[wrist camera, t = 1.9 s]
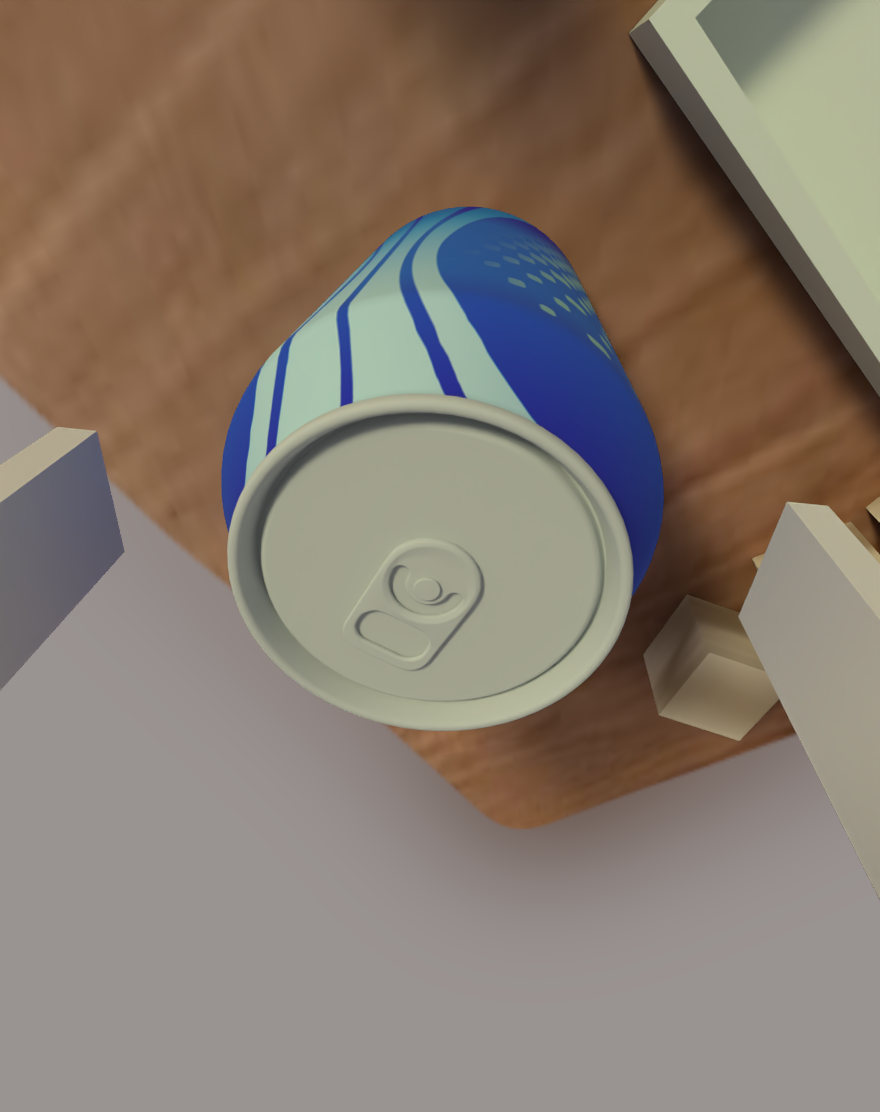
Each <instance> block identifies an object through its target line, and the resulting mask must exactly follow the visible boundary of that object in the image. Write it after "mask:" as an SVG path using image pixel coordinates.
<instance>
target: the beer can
mask: <svg viewBox="0 0 880 1112" xmlns="http://www.w3.org/2000/svg"><path fill="white" fill-rule="evenodd" d="M222 501H223V509H224V516H225V520H226V524H227V528H228V532H229V537H228V570H229V578H230V583H231V587H232V591H233V595H234V598H235V600H236V603H237V606H238V609H239V611H240V613H241V615H242V617H243V619H244V621H245V624H246V625H247V627H248V628H249V630H250V632H251V634H252V635H253V637H254V638H255V640H256V641H257V642H258V644H259V645H260V646H261V648H262V649H263V650H264V651H265V653H266V654H267V655H268V656H269V657H270V658H271V659H272V661H273V662H274V663H275V664H276V665H277V666H278V667H279V668H281V669H282V670H283V671H284V672H285V673H286V674H287V675H288V676H289V677H291V678H292V679H293V680H294V681H296V682H297V683H298V684H299V685H301V686H302V687H304V688H305V689H307V690H308V691H310V692H311V693H313V694H314V695H316V696H317V697H319V698H321V699H323V700H325V701H326V702H328V703H330V704H332V705H334V706H336V707H338V708H340V709H342V710H345V711H347V712H350V713H352V714H355V715H357V716H360V717H363V718H366V719H369V720H372V721H376V722H379V723H383V724H387V725H392V726H397V727H403V728H409V729H417V730H430V731H459V730H470V729H478V728H484V727H490V726H495V725H499V724H503V723H507V722H510V721H513V720H517V719H520V718H523V717H525V716H528V715H530V714H533V713H535V712H537V711H539V710H541V709H543V708H545V707H547V706H549V705H551V704H553V703H555V702H556V701H558V700H560V699H561V698H563V697H565V696H566V695H567V694H569V693H570V692H571V691H573V690H574V689H575V688H577V687H578V686H579V685H580V684H581V683H583V682H584V681H585V680H586V679H587V678H588V677H589V676H590V675H591V674H592V673H593V672H594V671H595V670H596V669H597V668H598V667H599V666H600V664H601V663H602V662H603V660H604V659H605V658H606V656H607V655H608V654H609V652H610V651H611V649H612V647H613V646H614V644H615V642H616V641H617V639H618V637H619V634H620V632H621V630H622V628H623V626H624V623H625V620H626V617H627V614H628V611H629V607H630V602H631V598H632V596H633V595H634V593H635V592H636V590H637V588H638V586H639V585H640V583H641V581H642V580H643V578H644V576H645V573H646V571H647V569H648V567H649V564H650V562H651V560H652V556H653V553H654V550H655V547H656V544H657V541H658V538H659V533H660V528H661V523H662V516H663V504H664V489H663V475H662V468H661V462H660V456H659V452H658V448H657V444H656V441H655V437H654V433H653V431H652V428H651V426H650V423H649V421H648V418H647V416H646V414H645V411H644V409H643V407H642V405H641V403H640V401H639V399H638V397H637V395H636V393H635V391H634V389H633V387H632V385H631V383H630V381H629V379H628V377H627V375H626V373H625V371H624V369H623V367H622V365H621V363H620V361H619V359H618V357H617V355H616V353H615V351H614V349H613V347H612V345H611V343H610V341H609V339H608V337H607V335H606V333H605V331H604V329H603V327H602V325H601V323H600V321H599V319H598V317H597V315H596V313H595V311H594V309H593V307H592V305H591V303H590V301H589V299H588V297H587V295H586V293H585V291H584V289H583V287H582V285H581V283H580V281H579V279H578V277H577V275H576V273H575V271H574V269H573V267H572V265H571V264H570V262H569V261H568V259H567V258H566V257H565V255H564V254H563V253H562V251H561V250H560V249H559V248H558V247H557V245H556V244H555V243H554V242H553V241H552V240H550V239H549V238H548V237H547V236H546V235H545V234H544V233H542V232H541V231H540V230H538V229H537V228H536V227H534V226H533V225H531V224H529V223H528V222H526V221H524V220H522V219H520V218H518V217H516V216H513V215H511V214H508V213H505V212H502V211H498V210H493V209H489V208H481V207H456V208H448V209H444V210H440V211H435V212H432V213H430V214H427V215H424V216H422V217H420V218H417V219H415V220H413V221H411V222H410V223H408V224H406V225H405V226H403V227H402V228H400V229H399V230H397V231H396V232H395V233H394V234H392V235H391V236H390V237H389V238H388V239H387V240H386V241H385V242H384V243H383V244H382V245H381V246H380V247H379V248H378V249H377V250H376V251H375V252H374V253H373V254H372V255H371V256H370V257H369V258H368V259H367V260H366V261H365V262H364V263H363V264H362V265H361V266H360V267H359V268H358V269H357V270H356V271H355V272H354V273H353V274H352V275H351V276H350V277H349V278H348V279H347V280H346V281H345V282H344V283H343V284H342V285H341V286H340V287H339V288H338V289H337V290H336V291H335V292H334V293H333V294H332V295H331V296H330V297H329V298H328V299H327V300H326V301H325V302H324V303H323V304H322V305H321V306H320V307H319V308H318V309H317V310H316V311H315V312H314V313H313V314H312V315H311V316H310V317H309V318H308V319H307V320H306V321H305V322H304V323H303V324H302V325H301V326H300V327H299V328H298V329H297V330H296V331H295V332H294V333H293V334H292V335H291V336H290V337H289V338H288V339H287V340H286V341H285V342H284V343H283V344H282V345H281V346H280V347H279V348H278V349H277V350H276V351H275V352H274V353H273V354H272V355H271V356H270V357H269V358H268V360H267V361H266V362H265V363H264V365H263V366H262V367H261V368H260V369H259V371H258V372H257V373H256V375H255V376H254V378H253V380H252V381H251V383H250V384H249V386H248V387H247V389H246V391H245V393H244V394H243V396H242V398H241V400H240V403H239V405H238V407H237V409H236V411H235V413H234V416H233V418H232V421H231V424H230V427H229V430H228V433H227V438H226V442H225V447H224V452H223V462H222Z"/></svg>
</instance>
